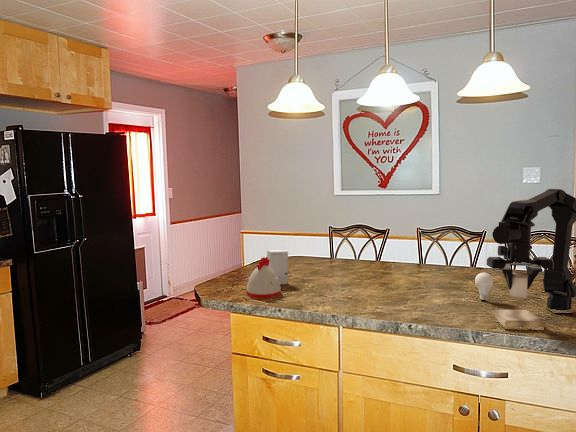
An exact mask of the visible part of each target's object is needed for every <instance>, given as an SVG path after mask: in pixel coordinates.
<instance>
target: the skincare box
mask: <svg viewBox="0 0 576 432" xmlns="http://www.w3.org/2000/svg"><path fill="white" fill-rule="evenodd" d="M266 257H268V259H270V261H269V266H268V267H270V268H271V269H272V270H273V271H274V273H275V274H276V276H277V278H279V280H280V286H281V285H288V283H289V282H288V277H289V271H288V270H289V268H288V266H289V251H288V250H285V249H270V250H266Z"/></svg>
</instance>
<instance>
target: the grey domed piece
mask: <svg viewBox="0 0 576 432" xmlns="http://www.w3.org/2000/svg"><path fill="white" fill-rule="evenodd" d="M269 261H270V259H268V257H267V256H265V257H260V261H258V264H256V268H255V269H254V270H253V271H252V272H251V274H250V276H248V277H247V286H246V296H247V297H250V298H252V299H253V298H254V299H270V298H271V299H272V298H277V297H279V296H280V295H281V293H282V290H281V285H280V280H279V278H277V276H276V274H275V273H274V271H273V270H272V269H271V268H270V267H268V266H269Z"/></svg>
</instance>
